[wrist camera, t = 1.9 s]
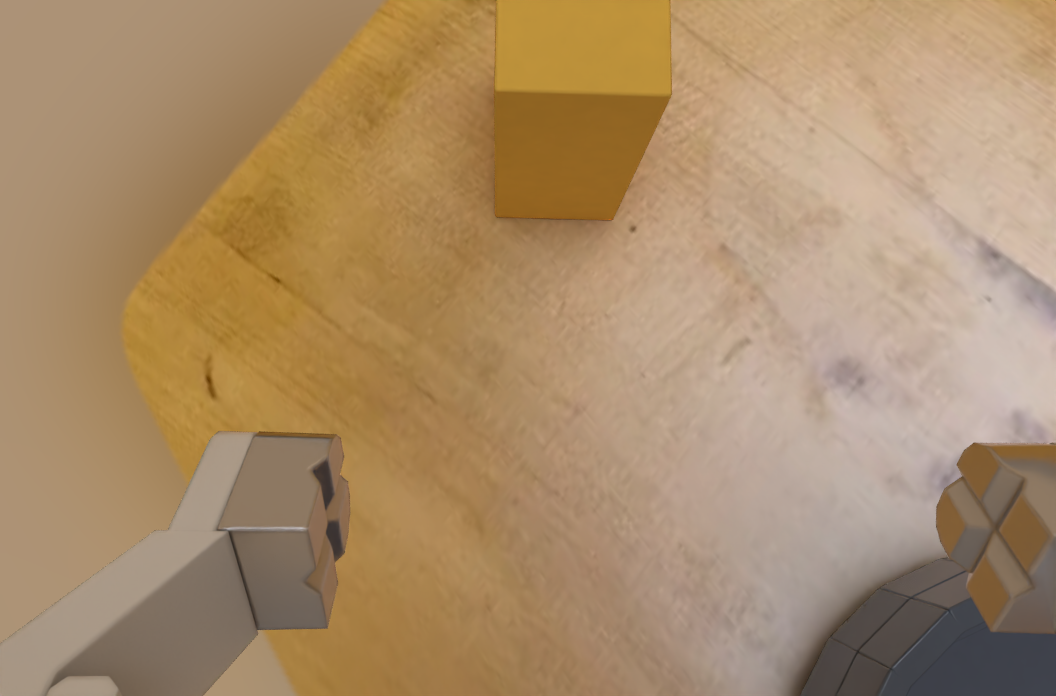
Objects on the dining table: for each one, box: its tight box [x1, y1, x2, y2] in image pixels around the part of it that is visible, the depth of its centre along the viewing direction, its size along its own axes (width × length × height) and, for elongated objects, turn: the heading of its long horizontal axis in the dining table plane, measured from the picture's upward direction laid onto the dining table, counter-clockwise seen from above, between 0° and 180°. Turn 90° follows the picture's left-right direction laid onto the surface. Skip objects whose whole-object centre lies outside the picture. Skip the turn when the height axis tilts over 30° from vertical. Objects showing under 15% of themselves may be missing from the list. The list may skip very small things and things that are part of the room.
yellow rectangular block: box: [494, 0, 672, 220], centre depth 25 cm, size 4×6×10 cm
